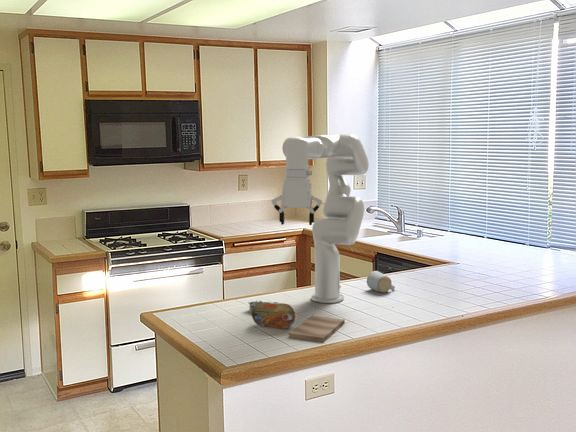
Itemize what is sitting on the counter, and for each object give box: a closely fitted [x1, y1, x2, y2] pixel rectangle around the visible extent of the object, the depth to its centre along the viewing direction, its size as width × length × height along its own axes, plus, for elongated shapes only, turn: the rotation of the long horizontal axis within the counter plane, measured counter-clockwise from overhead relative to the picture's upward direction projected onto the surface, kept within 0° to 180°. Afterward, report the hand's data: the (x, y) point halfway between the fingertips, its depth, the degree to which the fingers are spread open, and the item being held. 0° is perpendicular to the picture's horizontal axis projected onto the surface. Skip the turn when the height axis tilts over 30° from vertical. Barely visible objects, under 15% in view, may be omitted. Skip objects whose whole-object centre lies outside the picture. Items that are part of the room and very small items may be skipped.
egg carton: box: [247, 300, 278, 313], centre depth 232 cm, size 11×8×4 cm
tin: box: [251, 301, 296, 330], centre depth 214 cm, size 15×3×8 cm, turn 70°
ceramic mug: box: [366, 270, 396, 294], centre depth 258 cm, size 11×8×8 cm
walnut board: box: [288, 314, 346, 343], centre depth 210 cm, size 20×12×2 cm, turn 156°
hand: (296, 224), depth 218 cm, fingers open, 9 cm apart
